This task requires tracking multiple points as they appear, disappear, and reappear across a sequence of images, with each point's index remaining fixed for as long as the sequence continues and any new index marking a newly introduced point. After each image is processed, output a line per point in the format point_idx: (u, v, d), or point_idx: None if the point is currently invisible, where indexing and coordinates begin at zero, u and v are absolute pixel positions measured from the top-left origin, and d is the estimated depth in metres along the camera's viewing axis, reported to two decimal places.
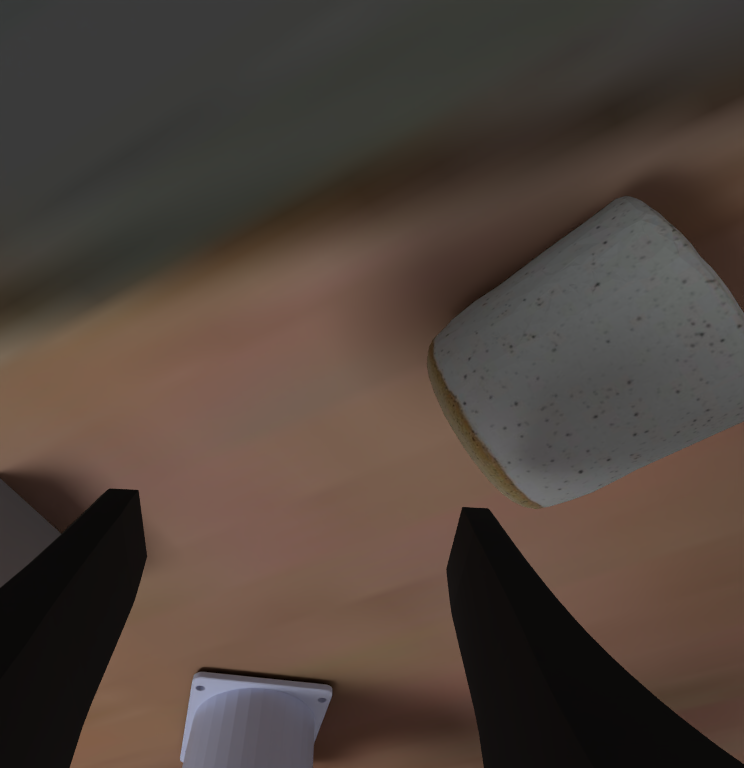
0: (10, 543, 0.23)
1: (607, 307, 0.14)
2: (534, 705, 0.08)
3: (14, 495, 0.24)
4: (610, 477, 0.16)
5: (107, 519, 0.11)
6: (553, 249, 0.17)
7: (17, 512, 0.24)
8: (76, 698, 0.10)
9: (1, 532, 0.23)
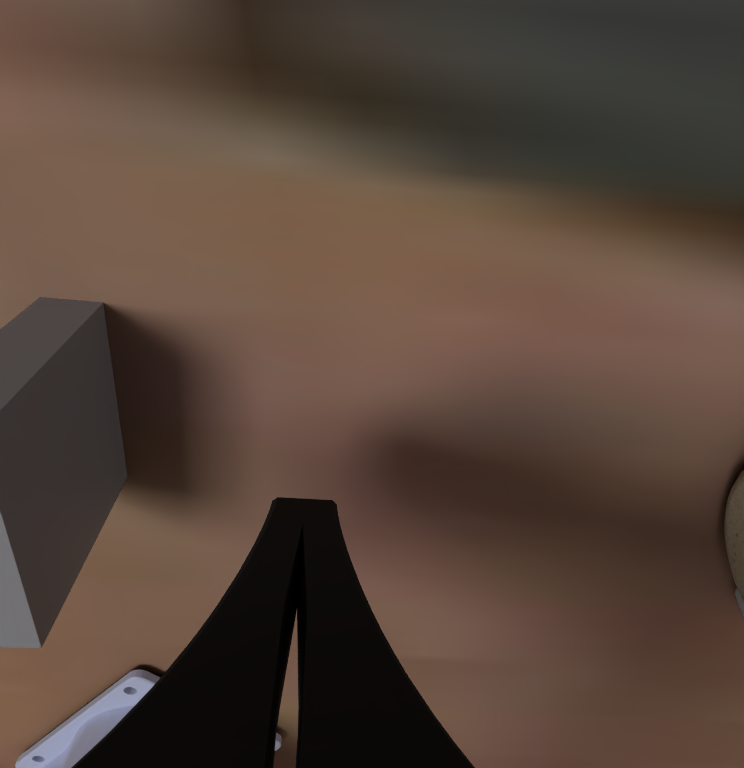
0: (85, 419, 0.14)
1: None
2: None
3: (107, 349, 0.15)
4: None
5: (291, 528, 0.11)
6: None
7: (102, 376, 0.15)
8: (278, 702, 0.10)
9: (84, 398, 0.14)
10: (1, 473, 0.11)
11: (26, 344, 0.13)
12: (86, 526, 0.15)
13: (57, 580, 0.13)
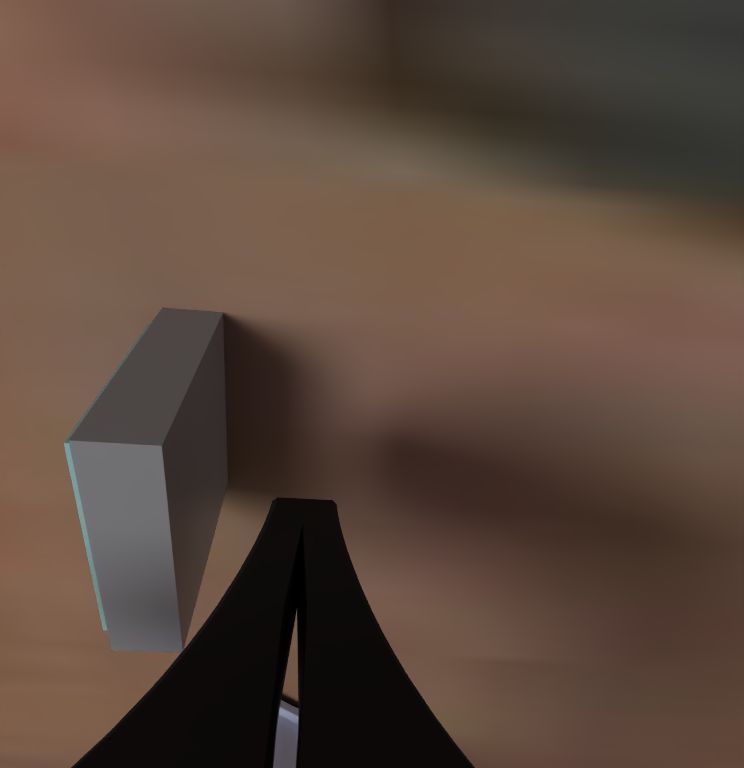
0: (211, 427, 0.15)
1: None
2: None
3: (223, 357, 0.16)
4: None
5: (291, 527, 0.11)
6: None
7: (220, 384, 0.15)
8: (278, 702, 0.10)
9: (211, 407, 0.14)
10: (171, 483, 0.11)
11: (169, 355, 0.13)
12: (207, 532, 0.15)
13: (192, 585, 0.14)
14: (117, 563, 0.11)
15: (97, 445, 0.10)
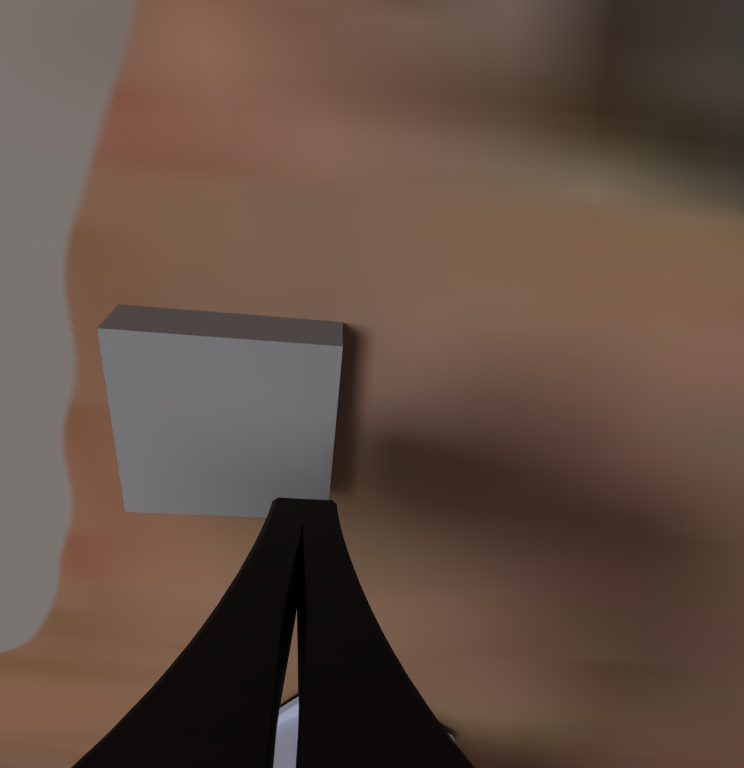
0: (259, 418, 0.15)
1: None
2: None
3: (331, 390, 0.15)
4: None
5: (291, 527, 0.11)
6: None
7: (310, 406, 0.15)
8: (278, 701, 0.10)
9: (263, 401, 0.15)
10: (116, 369, 0.14)
11: (241, 326, 0.15)
12: (224, 493, 0.16)
13: (163, 491, 0.16)
14: None
15: (113, 312, 0.15)
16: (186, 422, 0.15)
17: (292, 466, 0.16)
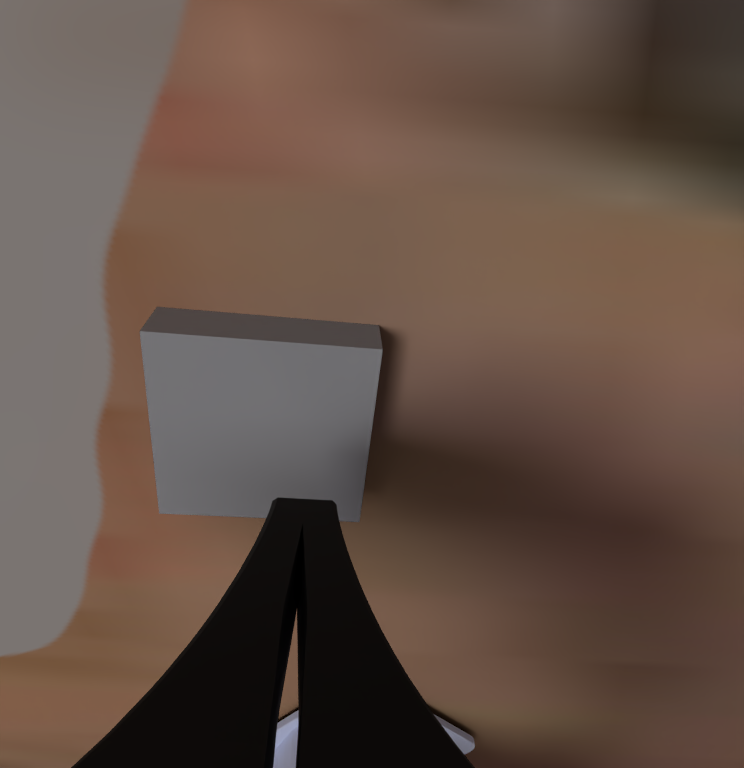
0: (296, 421, 0.15)
1: None
2: None
3: (369, 392, 0.15)
4: None
5: (291, 528, 0.11)
6: None
7: (347, 408, 0.15)
8: (278, 702, 0.10)
9: (301, 403, 0.15)
10: (156, 372, 0.14)
11: (281, 329, 0.15)
12: (258, 495, 0.17)
13: (198, 493, 0.16)
14: None
15: (152, 315, 0.15)
16: (224, 424, 0.15)
17: (327, 468, 0.16)
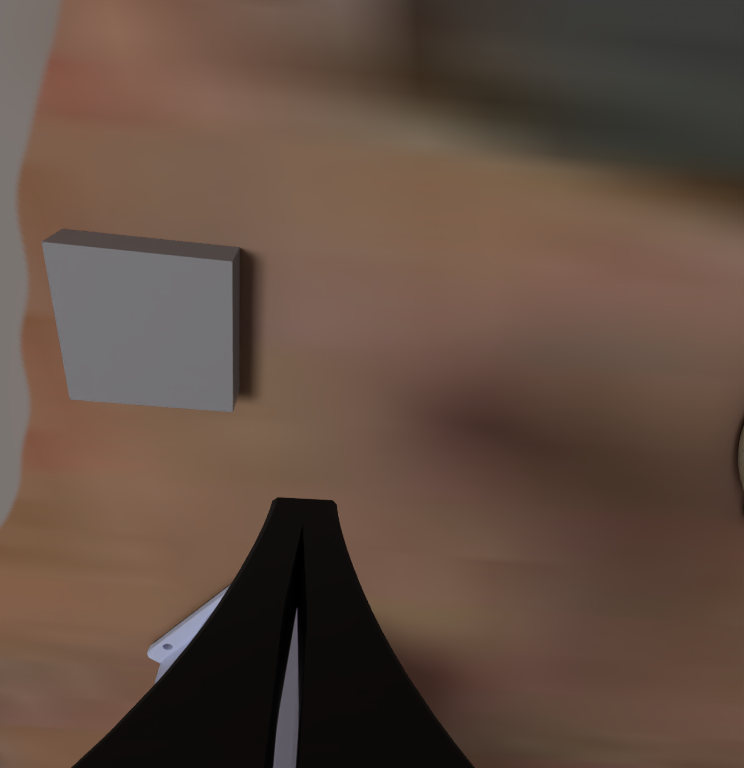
0: (171, 321, 0.19)
1: None
2: None
3: (226, 298, 0.19)
4: None
5: (291, 528, 0.11)
6: None
7: (211, 311, 0.19)
8: (278, 702, 0.10)
9: (174, 305, 0.19)
10: (57, 276, 0.18)
11: (156, 246, 0.19)
12: (148, 385, 0.21)
13: (99, 382, 0.21)
14: None
15: (57, 234, 0.19)
16: (114, 322, 0.19)
17: (201, 363, 0.20)
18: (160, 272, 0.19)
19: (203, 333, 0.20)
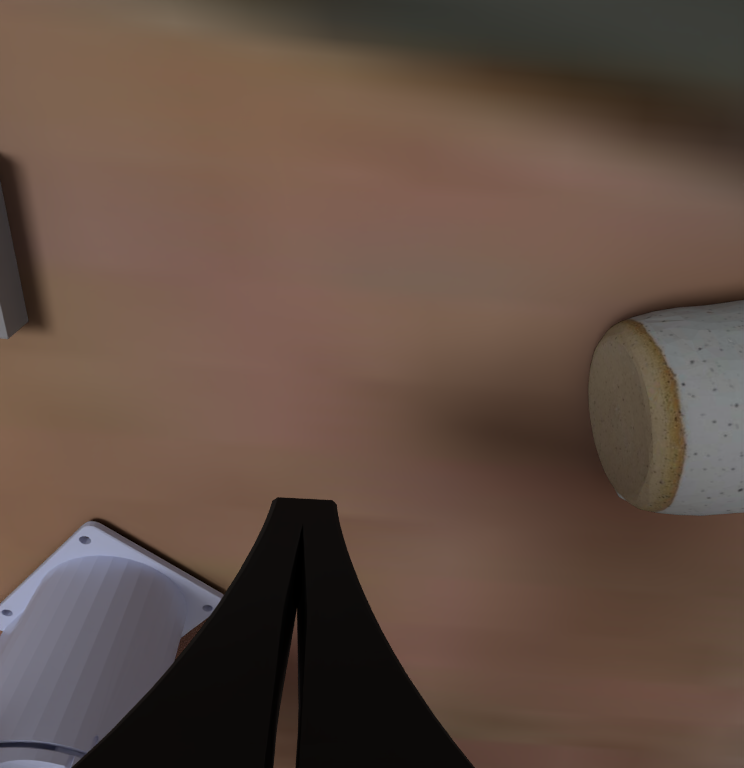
0: None
1: None
2: None
3: None
4: (743, 507, 0.18)
5: (291, 528, 0.11)
6: None
7: None
8: (278, 702, 0.10)
9: None
10: None
11: None
12: None
13: None
14: None
15: None
16: None
17: None
18: None
19: None
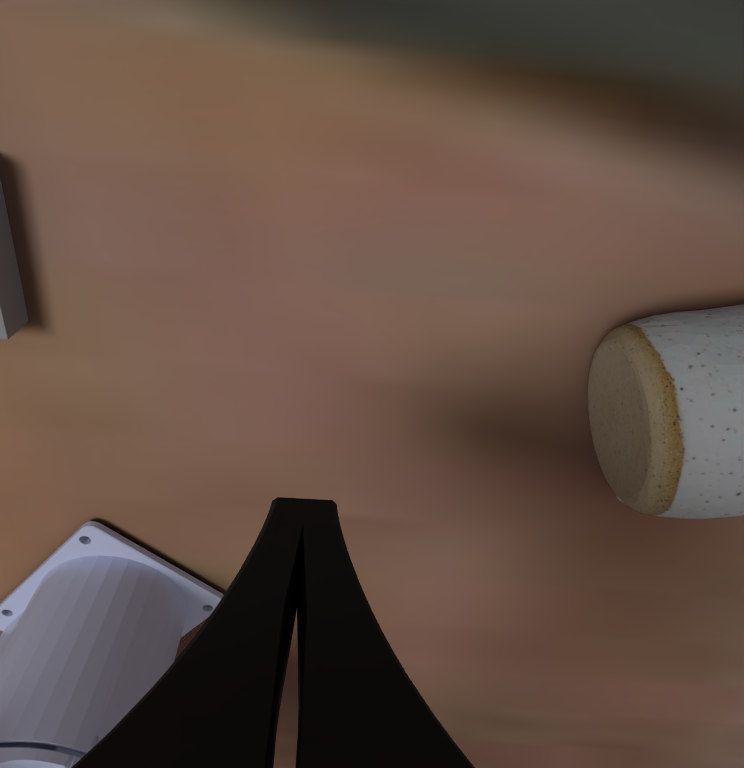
0: None
1: None
2: None
3: None
4: (741, 511, 0.18)
5: (291, 528, 0.11)
6: None
7: None
8: (278, 702, 0.10)
9: None
10: None
11: None
12: None
13: None
14: None
15: None
16: None
17: None
18: None
19: None
